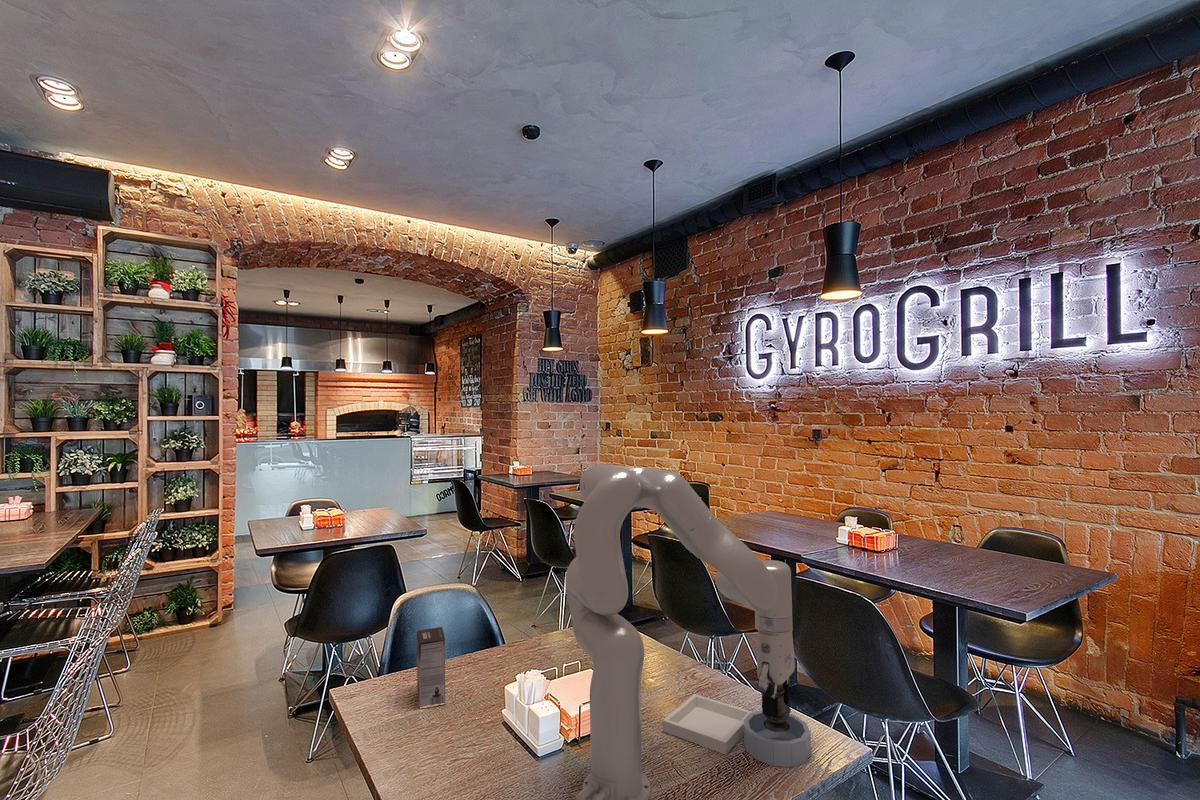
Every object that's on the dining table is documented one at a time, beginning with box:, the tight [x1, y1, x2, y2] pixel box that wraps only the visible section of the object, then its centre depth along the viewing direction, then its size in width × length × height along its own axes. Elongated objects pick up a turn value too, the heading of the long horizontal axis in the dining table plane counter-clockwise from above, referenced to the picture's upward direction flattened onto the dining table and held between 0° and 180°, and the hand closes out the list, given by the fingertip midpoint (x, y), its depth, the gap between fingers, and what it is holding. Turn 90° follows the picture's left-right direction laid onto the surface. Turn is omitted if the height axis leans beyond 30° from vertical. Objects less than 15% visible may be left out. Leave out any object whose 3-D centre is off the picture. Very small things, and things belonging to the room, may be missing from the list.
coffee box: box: [416, 626, 446, 707], centre depth 143 cm, size 9×6×16 cm
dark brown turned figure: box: [764, 677, 792, 732], centre depth 120 cm, size 6×6×12 cm
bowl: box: [743, 709, 812, 768], centre depth 120 cm, size 13×13×4 cm
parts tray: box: [662, 693, 754, 756], centre depth 128 cm, size 15×15×2 cm
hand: (776, 707), depth 120 cm, fingers closed on dark brown turned figure, 5 cm apart
